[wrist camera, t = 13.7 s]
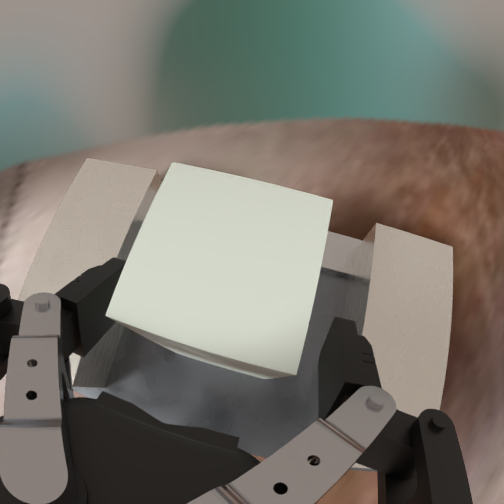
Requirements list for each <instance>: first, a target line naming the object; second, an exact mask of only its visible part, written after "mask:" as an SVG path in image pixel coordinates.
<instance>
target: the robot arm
mask: <svg viewBox="0 0 504 504" xmlns="http://www.w3.org/2000/svg"><path fill="white" fill-rule="evenodd" d="M125 263H126V261H125V260H122V259H119V258H115V257H113V258H111V259H110V260H108V261H107V262H105V263H104V264H103V265H99V266H96V267H93V268H90V269H88V270H86V271H85V272H83V273H82V274H81V276H78V277H77V278H75V279H74V280H73V281H71V282H70V283H68V284H67V285H66V286H64V287H63V288H62V289H60V290H59V291H58V292H56V293H55V294H52V293H46V292H43V293H36V294H33V295H31V296H29V297H28V298H27V299H26V300H25V301H19V300H14V299H11V297H10V291H9V288H8V287H7V286H5V285H3V284H0V380H1V379H2V378H3V377H4V376H5V374H6V373H7V376H6V387H5V401H4V416H1V417H0V504H316V503H317V502H318V501H319V500H320V499H321V498H322V497H323V496H324V495H325V494H326V493H327V492H328V491H329V490H330V489H331V488H332V487H333V486H334V485H335V484H336V483H337V482H338V481H339V480H340V479H341V478H342V477H343V476H344V475H345V474H346V473H347V472H348V470H349V469H350V468H351V467H352V466H353V465H354V464H355V463H358V464H360V465H363V466H366V467H368V468H371V469H374V470H377V473H378V504H473V503H472V497H471V492H470V487H469V483H468V478H467V473H466V469H465V465H464V461H463V457H462V453H461V449H460V445H459V442H458V438H457V434H456V431H455V427H454V424H453V422H452V420H451V419H450V418H449V417H448V416H447V415H446V414H445V413H443V412H442V411H439V410H437V409H426V410H424V411H422V412H421V413H420V415H419V416H418V417H415V416H412V415H410V414H407V413H404V412H402V411H399V410H398V409H396V402H395V400H394V398H393V397H392V396H391V395H390V394H389V393H388V392H387V391H385V390H383V389H382V387H381V383H380V378H379V374H378V370H377V365H376V364H375V363H376V361H375V357H374V353H373V349H372V345H371V344H370V343H369V341H368V340H367V339H366V337H365V336H361V335H358V332H357V328H356V323H355V321H353V320H349V319H344V318H340V317H335V318H334V320H333V322H332V324H331V327H330V329H329V332H328V334H327V337H326V339H325V342H324V344H323V346H322V349H321V352H320V356H319V361H318V420H316V421H315V422H314V423H313V424H311V425H310V426H309V427H308V428H306V429H305V430H304V431H303V432H301V433H300V434H299V435H298V436H296V437H295V438H294V439H292V440H291V441H290V442H288V443H287V444H286V445H285V446H283V447H282V448H281V449H279V450H278V451H276V452H275V453H274V454H272V455H271V456H270V457H268V458H267V459H265V460H264V461H262V462H260V461H258V460H257V459H256V458H255V457H253V456H252V455H250V454H249V453H247V452H245V451H244V450H242V449H240V448H238V447H237V446H238V442H239V438H240V437H236V436H232V435H228V434H224V433H220V432H217V431H213V430H209V429H206V428H200V427H190V426H181V425H173V424H166V423H163V422H161V421H159V420H158V419H156V418H154V417H153V416H151V415H150V414H148V413H147V412H145V411H144V410H142V409H140V408H139V407H137V406H136V405H134V404H133V403H130V402H128V401H126V400H123V399H121V398H118V397H116V396H114V395H111V394H109V393H107V392H104V391H102V392H101V394H100V395H99V396H98V398H97V399H94V398H80V397H78V398H74V395H73V386H72V376H71V364H70V358H69V356H70V355H71V354H72V353H75V354H77V355H79V356H81V357H83V358H84V357H85V356H86V355H87V354H88V352H89V351H90V350H91V349H92V348H93V347H94V346H95V345H96V343H97V342H98V341H99V340H100V339H101V338H102V337H103V336H104V335H105V333H106V332H107V331H108V330H109V329H110V328H111V327H112V326H113V325H114V324H115V322H116V321H114V320H112V319H111V318H109V317H107V316H105V315H106V312H107V309H108V307H109V304H110V301H111V299H112V296H113V293H114V291H115V288H116V286H117V283H118V280H119V278H120V275H121V273H122V270H123V268H124V266H125Z"/></svg>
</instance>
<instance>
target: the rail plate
mask: <svg viewBox="0 0 504 504" xmlns="http://www.w3.org/2000/svg"><path fill="white" fill-rule="evenodd" d="M161 184H162V182H161V179H160V176H159V174H158V171H157V170H155V169H150V168H145V167H139V166H134V165H128V164H122V163H116V162H110V161H104V160H98V159H92V158H87V159H86V160H85V162H84V164H83V165H82V167H81V169H80V170H79V172H78V174H77V175H76V177H75V179H74V180H73V182H72V184H71V186H70V187H69V189H68V191H67V193H66V195H65V197H64V198H63V200H62V202H61V204H60V206H59V208H58V210H57V212H56V214H55V215H54V217H53V219H52V221H51V223H50V225H49V228H48V230H47V232H46V234H45V236H44V238H43V240H42V242H41V244H40V247H39V249H38V251H37V253H36V256H35V258H34V260H33V263H32V265H31V267H30V270H29V272H28V275H27V277H26V280H25V282H24V285H23V287H22V290H21V293H20V295H19V298H18V300H19V301H25V300H26V299H27V298H28V297H29V296H31V295H33V294H36V293H43V292H46V293H52V294H55V293H56V292H58V291H59V290H60V289H62V288H63V287H64V286H66V285H67V284H68V283H70V282H71V281H73V280H74V279H75V278H77V277H78V276H81V274H82V273H83V272H85V271H86V270H88V269H90V268H93V267H96V266H99V265H103V264H104V263H105V262H107V261H108V260H110V259H111V258H113V257H115V258H119V259H122V260H125V261H127V258H128V256H129V254H130V251H131V249H132V247H133V244H134V242H135V240H136V237H137V235H138V233H139V230H140V228H141V226H142V224H143V222H144V219H145V217H146V215H147V213H148V211H149V209H150V206H151V204H152V202H153V200H154V198H155V196H156V194H157V192H158V190H159V188H160V186H161ZM452 300H453V247H451V246H449V245H446V244H443V243H439V242H436V241H433V240H430V239H427V238H424V237H421V236H418V235H415V234H412V233H408V232H405V231H402V230H399V229H395V228H392V227H389V226H385V225H382V224H379V223H376V224H375V225H374V226H373V228H372V229H371V230H370V232H369V233H368V234H367V235H366V237H365V238H364V239H363V240H359V239H355V238H352V237H348V236H344V235H341V234H337V233H333V232H330V231H328V233H327V238H326V244H325V249H324V254H323V260H322V265H321V270H320V275H319V279H318V284H317V289H316V294H315V298H314V303H313V308H312V312H311V316H310V321H309V325H308V330H307V334H306V338H305V342H304V346H303V350H302V355H301V359H300V363H299V366H298V370H297V374H296V375H293V376H286V377H279V378H271V379H262V378H259V377H255V376H251V375H247V374H243V373H240V372H236V371H233V370H229V369H226V368H222V367H219V366H215V365H212V364H209V363H205V362H202V361H199V360H196V359H193V358H190V357H187V356H183V355H180V354H177V353H175V352H173V351H171V350H169V349H167V348H165V347H163V346H161V345H159V344H157V343H155V342H153V341H151V340H149V339H147V338H145V337H144V336H142V335H140V334H138V333H136V332H134V331H132V330H130V329H129V328H127V327H125V326H123V325H121V324H119V323H118V322H115V324H114V325H113V326H112V327H111V328H110V329H109V330H108V331H107V332H106V333H105V335H104V336H103V337H102V338H101V339H100V340H99V341H98V342H97V343H96V345H95V346H94V347H93V348H92V349H91V350H90V351H89V352H88V354H87V355H86V356H85V357H84V358H83V357H81V356H79V355H77V354H75V353H72V354H71V355H70V356H69V358H70V364H71V376H72V386H73V390H75V391H77V392H79V393H81V394H83V395H85V396H87V397H89V398H94V399H97V398H98V396H99V395H100V394H101V392H102V391H104V392H107V393H109V394H111V395H114V396H116V397H118V398H121V399H123V400H126V401H128V402H130V403H133V404H134V405H136V406H137V407H139V408H140V409H142V410H144V411H145V412H147V413H148V414H150V415H151V416H153V417H154V418H156V419H158V420H159V421H161V422H163V423H166V424H173V425H181V426H190V427H200V428H206V429H209V430H213V431H217V432H220V433H224V434H228V435H232V436H236V437H240V438H239V442H238V446H237V447H238V448H240V449H242V450H244V451H245V452H247V453H249V454H252V455H257V456H262V457H266V458H268V457H270V456H271V455H272V454H274V453H275V452H276V451H278V450H279V449H281V448H282V447H283V446H285V445H286V444H287V443H288V442H290V441H291V440H292V439H294V438H295V437H296V436H298V435H299V434H300V433H301V432H303V431H304V430H305V429H306V428H308V427H309V426H310V425H311V424H313V423H314V422H315V421H316V420H318V361H319V356H320V352H321V349H322V346H323V344H324V342H325V339H326V337H327V334H328V332H329V329H330V327H331V324H332V322H333V320H334V318H335V317H340V318H344V319H349V320H353V321H355V323H356V328H357V332H358V335H361V336H365V337H366V339H367V340H368V341H369V343H370V344H371V345H372V349H373V353H374V357H375V361H376V363H375V364H376V365H377V370H378V374H379V378H380V383H381V387H382V389H383V390H385V391H387V392H388V393H389V394H390V395H391V396H392V397H393V398H394V400H395V402H396V409H398V410H399V411H402V412H404V413H407V414H410V415H412V416H415V417H418V416H419V415H420V413H421V412H422V411H424V410H426V409H437V410H440V405H441V399H442V394H443V388H444V382H445V375H446V368H447V360H448V352H449V343H450V332H451V319H452ZM349 470H362V471H377V470H374V469H371V468H368V467H366V466H363V465H360V464H358V463H355V464H354V465H353V466H352V467H351V468H350V469H349Z"/></svg>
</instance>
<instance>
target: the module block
mask: <svg viewBox="0 0 504 504" xmlns="http://www.w3.org/2000/svg"><path fill="white" fill-rule="evenodd" d="M332 204H333V200H331V199H327V198H324V197H320V196H317V195H313V194H309V193H305V192H302V191H298V190H294V189H290V188H286V187H282V186H278V185H274V184H270V183H266V182H262V181H258V180H254V179H250V178H245V177H241V176H237V175H232V174H228V173H223V172H219V171H214V170H210V169H205V168H200V167H195V166H191V165H186V164H181V163H175V162H172V164H171V166H170V168H169V170H168V172H167V174H166V176H165V178H164V180H163V182H162V184H161V186H160V188H159V190H158V192H157V194H156V196H155V198H154V200H153V202H152V204H151V206H150V209H149V211H148V213H147V215H146V217H145V219H144V222H143V224H142V226H141V228H140V230H139V233H138V235H137V237H136V240H135V242H134V244H133V247H132V249H131V251H130V254H129V256H128V258H127V261H126V263H125V266H124V268H123V270H122V273H121V275H120V278H119V280H118V283H117V286H116V288H115V291H114V293H113V296H112V299H111V301H110V304H109V307H108V309H107V312H106V315H105V316H107V317H109V318H111V319H112V320H114V321H116V322H118V323H119V324H121V325H123V326H125V327H127V328H129V329H130V330H132V331H134V332H136V333H138V334H140V335H142V336H144V337H145V338H147V339H149V340H151V341H153V342H155V343H157V344H159V345H161V346H163V347H165V348H167V349H169V350H171V351H173V352H175V353H177V354H180V355H183V356H187V357H190V358H193V359H196V360H199V361H202V362H205V363H209V364H212V365H215V366H219V367H222V368H226V369H229V370H233V371H236V372H240V373H243V374H247V375H251V376H255V377H259V378H262V379H271V378H279V377H286V376H293V375H296V374H297V370H298V366H299V363H300V359H301V355H302V350H303V346H304V342H305V338H306V334H307V330H308V325H309V321H310V316H311V312H312V308H313V303H314V298H315V294H316V289H317V284H318V279H319V275H320V270H321V265H322V260H323V254H324V249H325V244H326V238H327V233H328V227H329V222H330V216H331V210H332Z"/></svg>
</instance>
